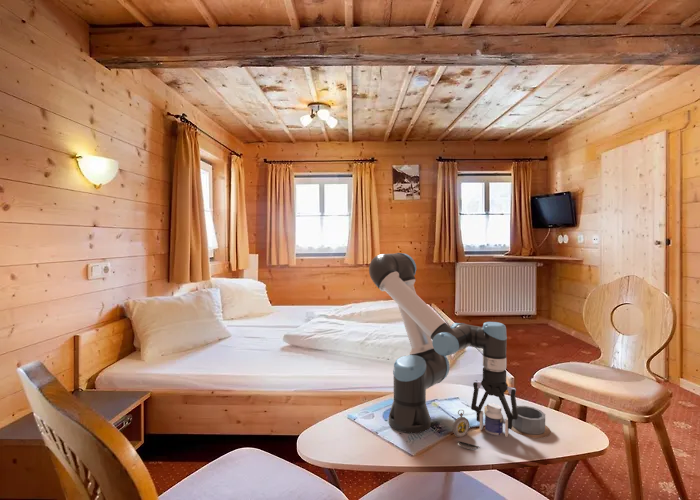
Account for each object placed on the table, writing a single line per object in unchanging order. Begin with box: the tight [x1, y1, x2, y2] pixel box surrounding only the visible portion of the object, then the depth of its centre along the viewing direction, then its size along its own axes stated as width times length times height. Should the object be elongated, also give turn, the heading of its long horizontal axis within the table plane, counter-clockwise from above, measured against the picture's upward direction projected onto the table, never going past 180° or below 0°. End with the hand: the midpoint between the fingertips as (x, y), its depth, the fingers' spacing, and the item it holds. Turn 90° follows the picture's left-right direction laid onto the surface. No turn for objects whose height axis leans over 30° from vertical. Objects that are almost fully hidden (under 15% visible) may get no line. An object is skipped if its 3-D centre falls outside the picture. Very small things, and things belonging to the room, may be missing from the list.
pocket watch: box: [452, 409, 479, 450], centre depth 120 cm, size 8×8×10 cm
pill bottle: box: [484, 402, 504, 437], centre depth 125 cm, size 6×6×10 cm
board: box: [510, 424, 552, 439], centre depth 128 cm, size 14×14×1 cm
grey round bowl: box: [510, 405, 546, 435], centre depth 127 cm, size 10×10×5 cm
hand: (493, 433), depth 125 cm, fingers open, 7 cm apart
